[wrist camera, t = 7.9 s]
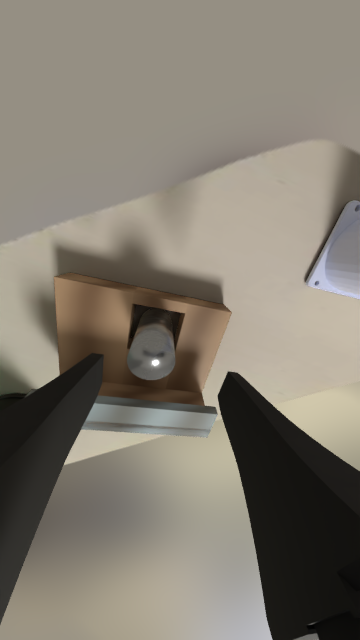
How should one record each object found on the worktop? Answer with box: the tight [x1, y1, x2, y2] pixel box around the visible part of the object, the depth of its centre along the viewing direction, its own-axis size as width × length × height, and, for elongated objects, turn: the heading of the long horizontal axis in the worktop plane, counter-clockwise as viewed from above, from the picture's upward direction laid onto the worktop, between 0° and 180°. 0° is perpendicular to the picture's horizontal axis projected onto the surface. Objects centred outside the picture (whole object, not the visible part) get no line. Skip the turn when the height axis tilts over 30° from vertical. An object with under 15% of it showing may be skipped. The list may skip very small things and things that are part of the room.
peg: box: [127, 308, 175, 380], centre depth 16 cm, size 4×4×7 cm
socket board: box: [25, 273, 232, 438], centre depth 16 cm, size 16×12×7 cm
